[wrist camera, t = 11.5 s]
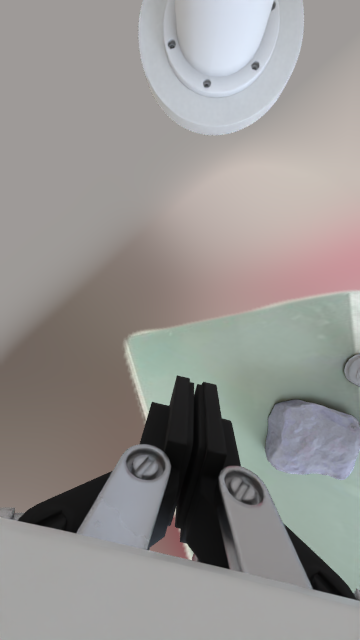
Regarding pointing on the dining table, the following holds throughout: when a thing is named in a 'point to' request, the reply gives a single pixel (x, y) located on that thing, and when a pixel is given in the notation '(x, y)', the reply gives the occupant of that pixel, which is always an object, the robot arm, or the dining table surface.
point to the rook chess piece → (353, 370)
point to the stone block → (312, 439)
